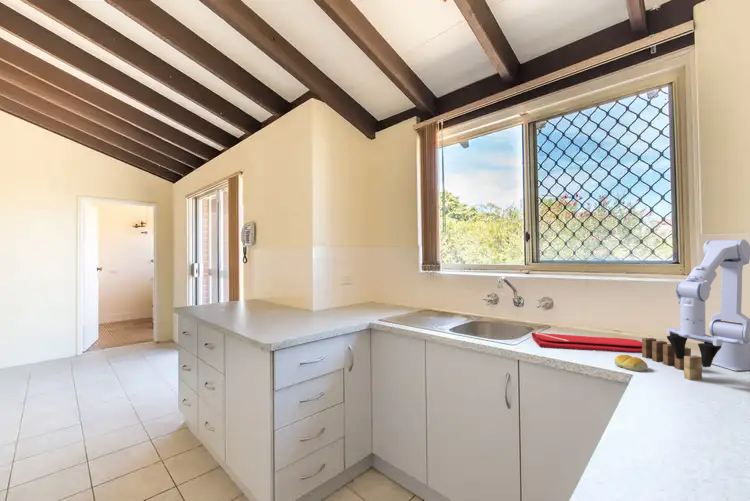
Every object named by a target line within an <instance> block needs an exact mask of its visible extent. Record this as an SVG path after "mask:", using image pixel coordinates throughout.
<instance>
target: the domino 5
mask: <svg viewBox="0 0 750 501" xmlns="http://www.w3.org/2000/svg"><path fill="white" fill-rule="evenodd" d="M683 378H684V379H686V380H689V381H696V380H703V366H702V361H701V356H699V355H696V354H695V355H691V356H684V370H683Z"/></svg>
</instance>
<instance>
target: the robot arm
mask: <svg viewBox="0 0 750 501" xmlns="http://www.w3.org/2000/svg"><path fill="white" fill-rule="evenodd" d="M702 251H703V255H704V258H703V259H702V261H701V263H700V265H697V266H695V267H693V268H692V270H691V271H690V273H689V274H688V275H687V277H686V278H685V280H682V281H680V282H678V283H677V284H676V286H675V295H676V298H677V303H678V304H679V324H680V326H679V328H675V327H666V334H668V335H667V336H666V339H667V340H668V342H669V344H671V345H672V347H673V349H674V352H675V355H676V358H677V359H684V355H685V347H686V344H687V341H688V339H689V340H694V341H696V342H697V341H698V342H701V343H697V346H698V348H699V351H700V355H701V356H700V357H701V361H702V368H711V367H712V366H711V365H715V366H718V367H721V368H723V369H724V368H725V369H728V370H730V371H731V370H732V371H735V372H738V371H739V372H740V371H750V318H749V317H748V316H746V315H745V314H744V313H742V297H743V296H742V293H743V268H744V266H746V265H749V264H750V243H749V241H747V240H746V239H744V238H742V239H724V240H723V239H722V240H717V239H716V240H711V239H708V240H706V241H705V242H704V243H703V245H702ZM719 267H721V285H720V288H721V290H720V311H719V312H717V313H715V314H712V315H711V316H710V320H709V324H708V333H709V334H710V335H709V334H706V301H707V300H708V299H709V298H710V292H711V289H712V287H711V286H712V284H713V283H714V280H715V279H716V277H717V272H716V270H717V268H719ZM715 356H716V360H714V358H715Z"/></svg>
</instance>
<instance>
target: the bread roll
mask: <svg viewBox="0 0 750 501" xmlns="http://www.w3.org/2000/svg"><path fill="white" fill-rule="evenodd" d="M614 364H615V365H616V366H617V367H619V368H623V370H624V369H625V370H627V371H633V372H646V371H647V370H648V367H649V366H648V364H647V362H645V361H644V360H643V359H641V358H639V357H636V356H632V355H629V354H619V355H616V357H615V358H614Z"/></svg>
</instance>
